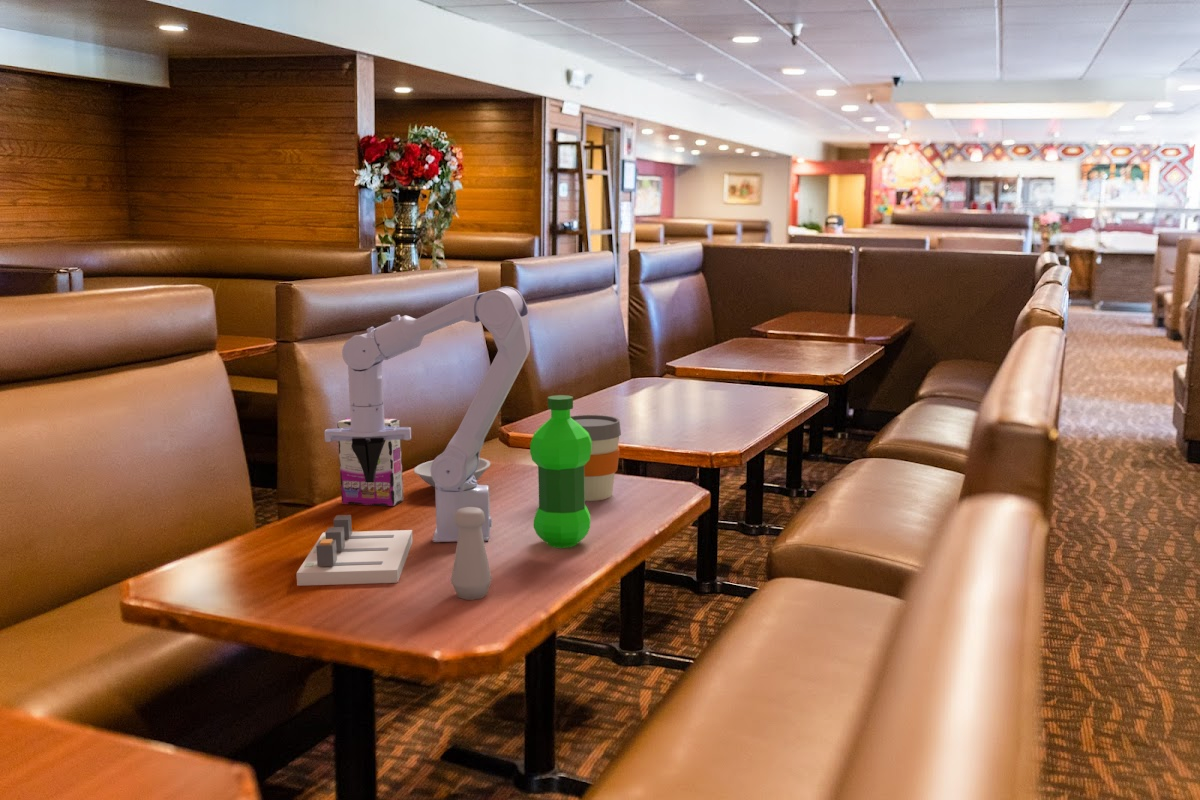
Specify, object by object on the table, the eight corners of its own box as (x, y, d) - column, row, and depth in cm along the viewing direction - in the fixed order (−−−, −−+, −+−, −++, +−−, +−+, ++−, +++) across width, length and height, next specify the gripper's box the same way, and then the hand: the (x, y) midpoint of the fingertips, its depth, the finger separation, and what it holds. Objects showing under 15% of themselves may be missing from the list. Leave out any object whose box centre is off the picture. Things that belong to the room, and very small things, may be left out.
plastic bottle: (593, 534, 186) (591, 392, 182) (591, 552, 176) (589, 402, 172) (535, 534, 187) (532, 392, 182) (530, 552, 176) (527, 403, 172)
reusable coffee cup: (560, 486, 219) (559, 414, 216) (621, 487, 219) (621, 414, 216) (555, 503, 207) (554, 426, 204) (620, 503, 206) (620, 426, 204)
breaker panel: (412, 541, 183) (412, 529, 183) (397, 582, 163) (397, 569, 162) (323, 543, 182) (322, 531, 182) (297, 585, 162) (296, 572, 161)
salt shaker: (474, 604, 153) (472, 516, 151) (443, 597, 156) (440, 511, 154) (499, 592, 158) (497, 507, 156) (469, 585, 161) (466, 501, 159)
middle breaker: (344, 545, 173) (343, 526, 173) (341, 551, 170) (340, 532, 170) (329, 546, 173) (328, 527, 173) (326, 552, 170) (325, 532, 170)
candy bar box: (404, 500, 210) (401, 418, 207) (394, 507, 205) (390, 422, 202) (352, 497, 212) (347, 416, 209) (340, 504, 207) (336, 421, 205)
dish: (445, 477, 228) (444, 454, 227) (505, 483, 223) (504, 459, 222) (398, 497, 212) (397, 472, 211) (461, 504, 207) (460, 479, 206)
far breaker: (351, 533, 180) (351, 514, 180) (349, 538, 177) (348, 519, 177) (337, 533, 180) (336, 515, 180) (334, 539, 177) (333, 520, 177)
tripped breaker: (336, 559, 166) (335, 537, 166) (333, 565, 164) (332, 543, 163) (321, 559, 166) (320, 538, 166) (317, 566, 163) (316, 544, 163)
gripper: (411, 399, 189) (414, 474, 191) (328, 400, 188) (332, 476, 190) (407, 406, 182) (410, 484, 184) (320, 407, 181) (324, 486, 183)
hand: (370, 481), depth 187 cm, fingers closed
